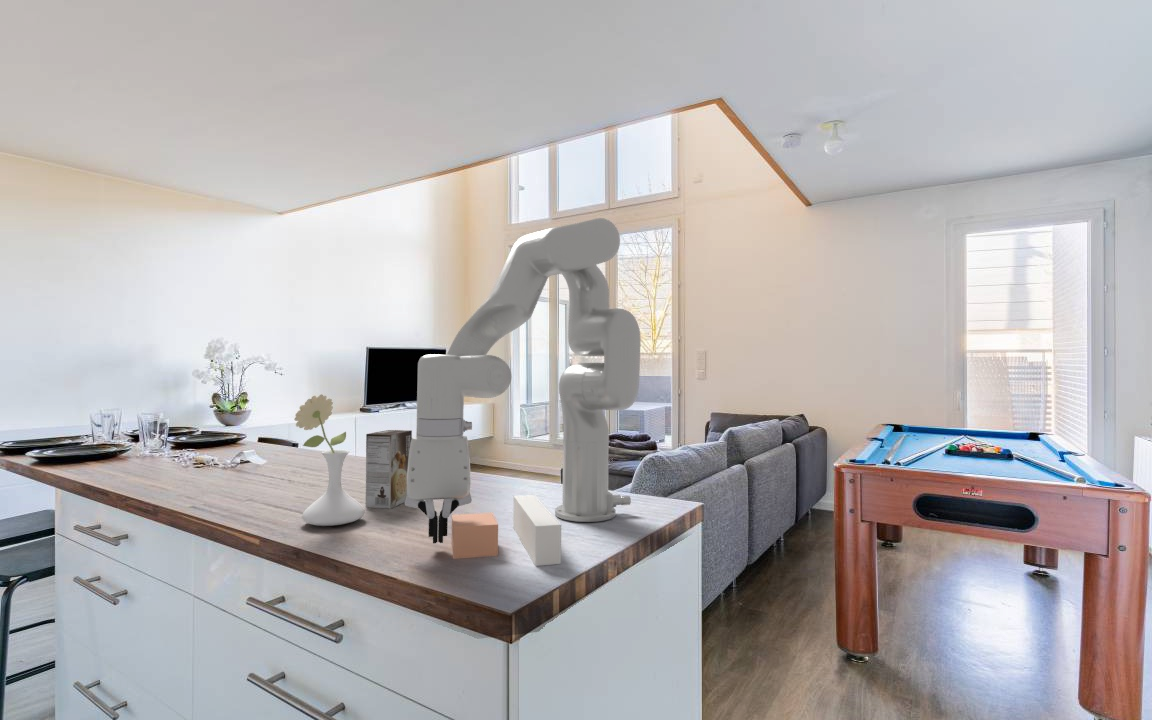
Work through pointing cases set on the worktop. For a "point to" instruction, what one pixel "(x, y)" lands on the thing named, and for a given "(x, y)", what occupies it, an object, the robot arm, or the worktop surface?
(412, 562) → the worktop surface
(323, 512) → the flower in vase
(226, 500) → the worktop surface
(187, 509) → the worktop surface
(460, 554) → the peach block
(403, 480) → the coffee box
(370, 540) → the worktop surface
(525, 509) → the board
